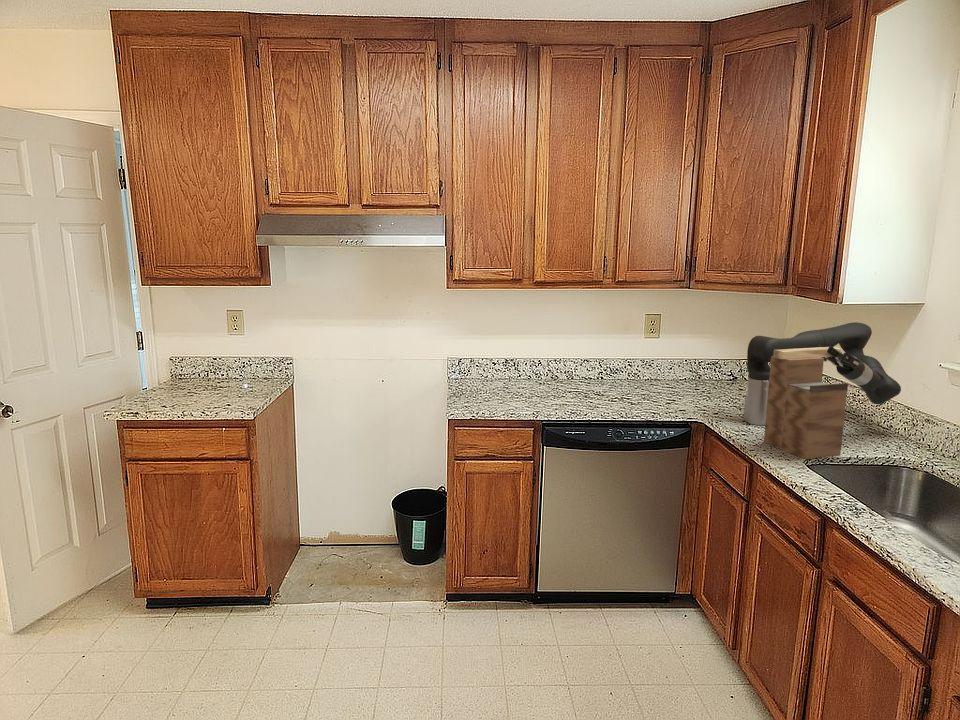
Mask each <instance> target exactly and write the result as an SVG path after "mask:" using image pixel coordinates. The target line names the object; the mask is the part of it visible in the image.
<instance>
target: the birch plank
mask: <svg viewBox="0 0 960 720" xmlns="http://www.w3.org/2000/svg"><path fill="white" fill-rule="evenodd" d="M828 348H829V347H819V348H800V349H781V350H774V355H773V357H774V358H779V359H797V358H813V357H830V356H832V355H831V354H829V353H828V352H827V350H828ZM833 348H835V349H836V350H837V351H841V352H842V348H841V347H840V348H839V347H836V346H834V347H833Z"/></svg>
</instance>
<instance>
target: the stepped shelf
mask: <svg viewBox="0 0 960 720" xmlns="http://www.w3.org/2000/svg"><path fill="white" fill-rule="evenodd" d="M824 363H825V361H824V358H821V357H813V358H797V359H779V358H774V357H773V356H771V362H770V365H769V366H770V377H769V388H768V400H767V411H766V423H765V425H764V437H763V443H764V444H766V445H769V446H771V447H774V448H776V449H778V450H780V451H781V450H782V451H784V452H787V453H789V454H791V455H794V456H796V457H799V458H801V459H805V460H810V459H818V458H827V457H835V456H841V451H842V450H841V449H842V443H843V433H844V432H843V431H844V424H845V415H846V406H847V405H846V404H847V397H848V386H849V383H847V382H841V383H827V382H823V372H824Z"/></svg>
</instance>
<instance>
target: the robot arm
mask: <svg viewBox="0 0 960 720" xmlns="http://www.w3.org/2000/svg"><path fill="white" fill-rule="evenodd" d="M872 331H873V330H872V327H870V326H869V325H868V324H866V323H863V322H857V321H856V322H847V323H845V324H840V325H837V326H832V327H828V328H827V327H826V328H821V329H812V330H805V331H801V332H799V333H797V334H796V335H794V336H792V337H787V338H785V337H783V338H778V337H772V336H771V337H770V336H765V335H755V336H754V337H752V338H751V339H750V340H749V343H748V346H747V350H746V351H747V352H746V353H747V354H746V358H747V359H746V361H747V362H746V369H747V373H748V381H747V391H746V392H747V393H746V395H745V396H744V404H743V405H744V406H743V417H742V419H743V421H745V423H747V422H748V424H750V425H756V426H765V423H766V411H767V400H768V388H769V377H770V365H769V363H771V356H773V355H774V350H781V349H800V348H819V347H829V348H828V350H827V352H828V353H829V354H831V355H832V356H830V357H821V358H824V362H827V361H828V363H829V362H830V363H831V364H832V365H833V366H835V367H836V372H837V374H840V375H841V376H842V377H843V378H845V379H846V380H848V381H849V382H851V383H852V384H854V385H855V386H857V387H859V388H861V389H862V391H863V392H864V393H865V395H866V397H867V398H868V400H869V402H871V403H872V404H874V405H884V404H885V403H886V402H888V401H890V400H891V399H893V398H896V397H897V396H899V395H900V393H901V391H902V386H901V385H900V384H899V382H898V381H896V379H894V378H892V377H891V376H889V375H888V373H887V372H886V371H885V369H884V367H883V365H882V364H881V362H880V361H879V360H878V359H876V357H873V356H870V355H865V353H864V348H865V347H866V346H867V344H868V343H869V340H870V339H871V336H872ZM837 345H839V347H840V348H841V351H837V350H836V349H835V348H836V346H837ZM833 347H835V348H833ZM842 351H843V352H842Z"/></svg>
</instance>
